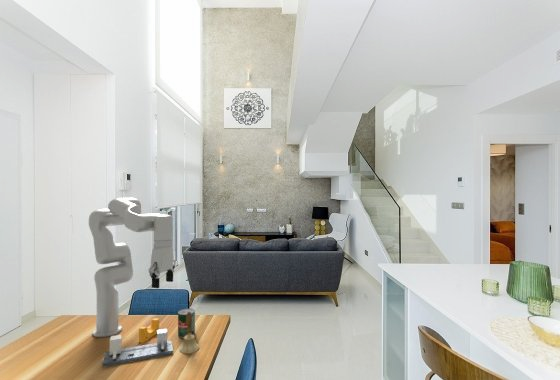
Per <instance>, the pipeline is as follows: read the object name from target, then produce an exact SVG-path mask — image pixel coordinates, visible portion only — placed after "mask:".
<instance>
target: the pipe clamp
mask: <svg viewBox="0 0 560 380" xmlns="http://www.w3.org/2000/svg"><path fill="white" fill-rule="evenodd" d="M157 330H160V318H157V317H156V318H155V317H154V318H152V320H151V324H150V325H149V326H140V327H139V328H138V342H139V343H141V344H142V343H146V342H147V341H149V340H150V339H151V338H152V337H154V336H156V335H157Z"/></svg>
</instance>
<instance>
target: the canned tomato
mask: <svg viewBox="0 0 560 380" xmlns="http://www.w3.org/2000/svg"><path fill="white" fill-rule="evenodd" d="M187 312H191V315H192V324H191V334H192V335H194V336H195V334H196V313H195V312H196V310H195V309H193V308H183V309H180V310H178V312H177V337H179V338H181V339H184V337H185V336H186V335H187V324H186V316H187Z"/></svg>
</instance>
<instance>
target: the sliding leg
mask: <svg viewBox="0 0 560 380" xmlns="http://www.w3.org/2000/svg"><path fill="white" fill-rule="evenodd" d="M122 342H123V341H122V334H115V335H111V336H110V339H109V351H110V355H113V359H115V358H116V354H120V353H121V349H123V348H122V345H123V344H122Z"/></svg>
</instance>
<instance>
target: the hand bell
mask: <svg viewBox="0 0 560 380" xmlns="http://www.w3.org/2000/svg"><path fill="white" fill-rule="evenodd" d="M186 324H187V335H186V336H185V337H184V338H183V343H182V344H181V346H180V348H179V350H178V351H179V352H180V353H181V354H184V355H187V354H189V355H190V354H194V353H196V352H198V351H199V349H200V345H199V344H197V341H196V338H195V337H196V336H195V335H192V334H191V324H192V315H191V312H187V316H186Z"/></svg>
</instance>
